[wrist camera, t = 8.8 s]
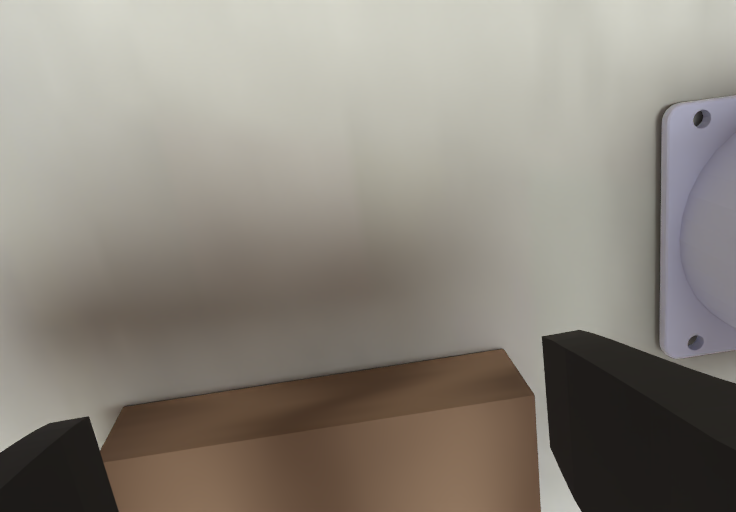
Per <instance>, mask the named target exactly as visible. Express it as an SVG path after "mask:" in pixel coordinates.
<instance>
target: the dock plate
mask: <svg viewBox="0 0 736 512" xmlns="http://www.w3.org/2000/svg"><path fill="white" fill-rule="evenodd" d="M100 453H101V456H102V460H103V463H104V466H105V469H106V472H107V476H108V479H109V482H110V485H111V488H112V491H113V495H114V498H115V501H116V504H117V507H118V510H119V512H541V507H540V488H539V469H538V451H537V432H536V413H535V395H534V394H533V392H532V391H531V389H530V388H529V386H528V385H527V383H526V382H525V380H524V379H523V377H522V376H521V374H520V373H519V371H518V370H517V368H516V367H515V365H514V364H513V362H512V361H511V359H510V358H509V356H508V355H507V353H506V352H505V350H504V349H500V350H493V351H486V352H480V353H473V354H467V355H460V356H454V357H447V358H441V359H434V360H427V361H421V362H414V363H408V364H401V365H395V366H388V367H382V368H375V369H369V370H362V371H355V372H349V373H342V374H336V375H329V376H323V377H316V378H310V379H303V380H297V381H290V382H283V383H277V384H270V385H264V386H257V387H251V388H244V389H238V390H231V391H225V392H218V393H211V394H205V395H198V396H192V397H185V398H179V399H172V400H166V401H159V402H152V403H146V404H139V405H133V406H126V407H123V409H122V410H121V412H120V414H119V416H118V418H117V420H116V422H115V424H114V426H113V427H112V429H111V431H110V433H109V435H108V437H107V439H106V441H105V443H104V445H103V446H102V448H101V450H100Z"/></svg>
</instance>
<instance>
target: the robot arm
mask: <svg viewBox="0 0 736 512" xmlns="http://www.w3.org/2000/svg"><path fill="white" fill-rule="evenodd" d="M698 111H702V113H703V119H702V122H701V123H700V124H699V125H698V126H695V125H694V122H693V119H694V115H695V114H696V113H697V112H698ZM695 335H697V338H696V341H695V342H694V343H693V344H691V345H688V341H689V339H690V338H691V337H693V336H695ZM542 345H543V358H544V371H545V384H546V398H547V411H548V424H549V437H550V448H551V450H552V452H553V454H554V457H555V459H556V461H557V463H558V466H559V468H560V470H561V472H562V474H563V477H564V479H565V481H566V483H567V485H568V487H569V489H570V491H571V493H572V495H573V497H574V500H575V501H576V503H577V505H578V506H579V508H580V509H581V511H582V512H736V384H735V383H732V382H729V381H725V380H722V379H719V378H716V377H713V376H710V375H707V374H704V373H701V372H698V371H695V370H692V369H690V368H687V367H684V366H681V365H678V364H676V363H673V362H670V361H667V360H665V359H662V358H659V357H657V356H654V355H651V354H649V353H646V352H643V351H641V350H638V349H635V348H633V347H630V346H627V345H625V344H622V343H619V342H617V341H614V340H611V339H608V338H605V337H602V336H599V335H596V334H593V333H590V332H586V331H582V330H576V331H571V332H565V333H559V334H554V335H548V336H542ZM660 348H661V349H662V351H663V352H664V353H665V354H667V355H668V356H669V357H671V358H673V359H681V358H688V357H694V356H701V355H707V354H714V353H720V352H726V351H733V350H736V95H732V96H725V97H717V98H710V99H703V100H695V101H688V102H681V103H677V104H674V105H672V106H671V107H669V108H668V109H667V110H666V112H665V113H664V115H663V119H662V151H661V249H660ZM0 512H119V510H118V507H117V504H116V501H115V498H114V495H113V491H112V488H111V485H110V482H109V479H108V476H107V472H106V469H105V466H104V463H103V460H102V456H101V453H100V450H99V447H98V444H97V441H96V437H95V434H94V431H93V428H92V425H91V422H90V418H89V416H88V417H82V418H77V419H71V420H65V421H60V422H54V423H49V424H47V425H45V426H43V427H41V428H39V429H37V430H35V431H34V432H32V433H30V434H29V435H27V436H25V437H24V438H22V439H21V440H19V441H17V442H16V443H14V444H13V445H11V446H10V447H8V448H7V449H5V450H4V451H2V452H1V453H0Z"/></svg>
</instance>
